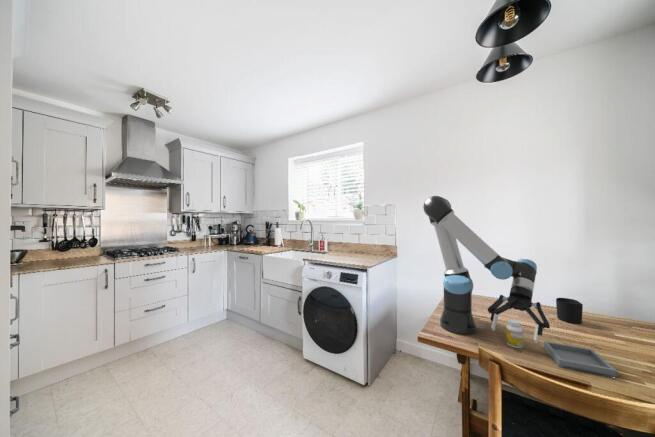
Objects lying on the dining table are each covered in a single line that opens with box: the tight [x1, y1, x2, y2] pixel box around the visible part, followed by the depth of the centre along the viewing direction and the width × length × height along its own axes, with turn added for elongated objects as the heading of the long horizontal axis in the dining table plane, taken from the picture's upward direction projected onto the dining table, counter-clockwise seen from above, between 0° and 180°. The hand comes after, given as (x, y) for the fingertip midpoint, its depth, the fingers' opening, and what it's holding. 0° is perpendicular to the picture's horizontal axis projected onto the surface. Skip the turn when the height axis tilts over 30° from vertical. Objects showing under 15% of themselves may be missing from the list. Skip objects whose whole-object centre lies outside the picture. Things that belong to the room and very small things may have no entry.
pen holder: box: [555, 297, 584, 325], centre depth 119 cm, size 9×9×10 cm
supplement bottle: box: [505, 318, 524, 349], centre depth 96 cm, size 5×5×10 cm
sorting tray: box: [543, 340, 618, 379], centre depth 85 cm, size 14×14×2 cm
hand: (513, 335), depth 94 cm, fingers open, 13 cm apart
